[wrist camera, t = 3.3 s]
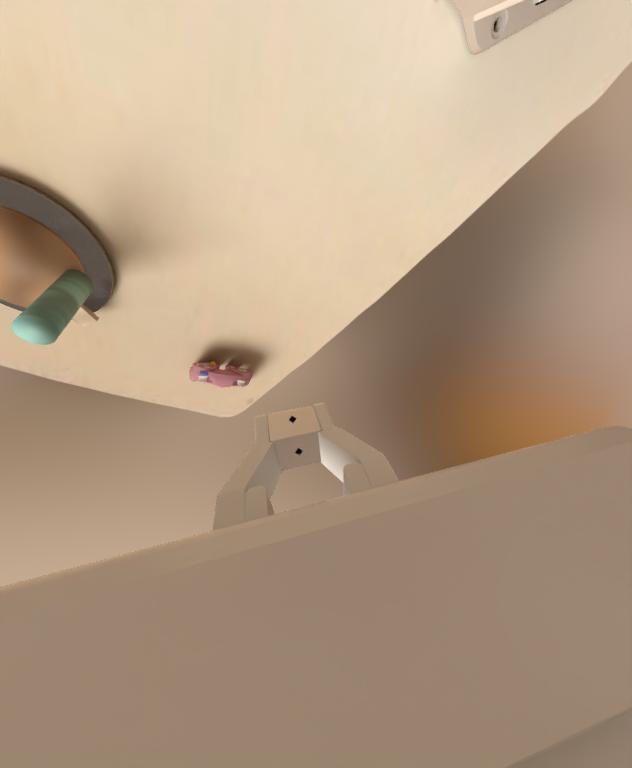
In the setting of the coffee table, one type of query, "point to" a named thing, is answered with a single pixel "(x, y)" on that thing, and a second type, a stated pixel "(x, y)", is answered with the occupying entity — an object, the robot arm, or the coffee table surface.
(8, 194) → the base plate
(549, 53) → the coffee table surface
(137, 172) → the coffee table surface
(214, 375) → the video game controller
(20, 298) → the teal arcade joystick
